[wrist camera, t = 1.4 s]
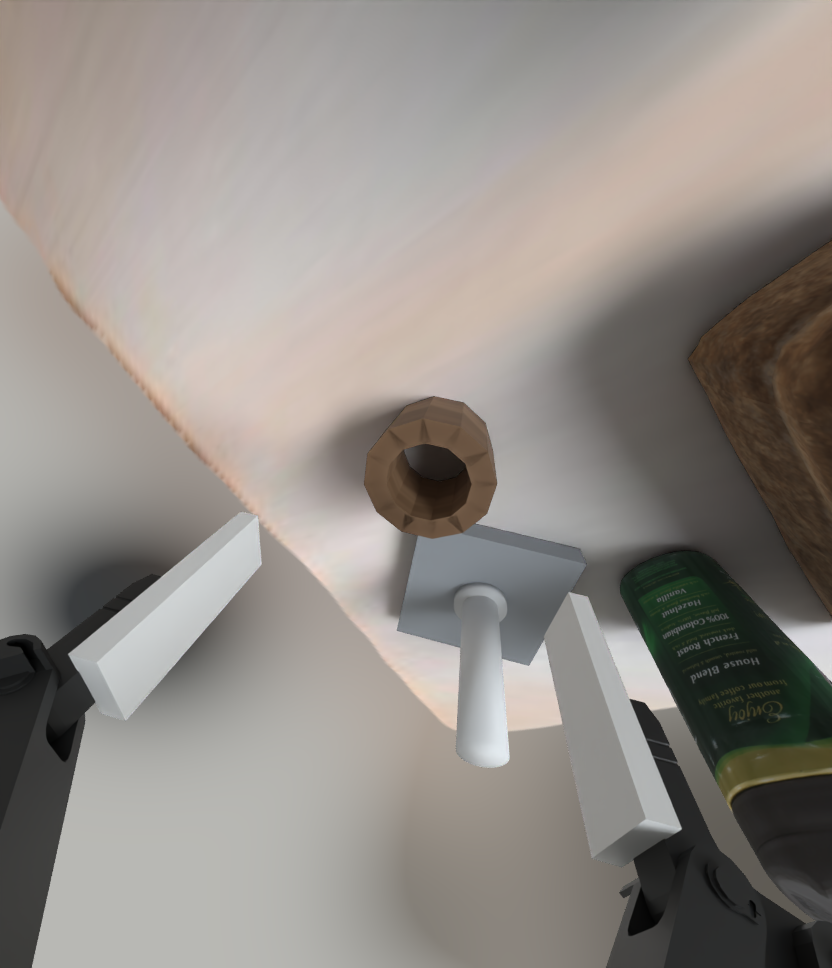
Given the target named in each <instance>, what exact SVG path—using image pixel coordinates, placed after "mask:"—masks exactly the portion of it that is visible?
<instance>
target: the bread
mask: <svg viewBox="0 0 832 968" xmlns="http://www.w3.org/2000/svg"><path fill="white" fill-rule="evenodd" d="M688 360H689V362H690V364H691V366H692V368H693V370H694V372H695V374H696V375H697V377H698V379H699V381H700V383H701V385H702V387H703V388H704V390H705V392H706V394H707V396H708V398H709V400H710V402H711V404H712V406H713V408H714V411H715V413H716V415H717V417H718V419H719V421H720V423H721V425H722V427H723V429H724V431H725V433H726V435H727V437H728V439H729V441H730V443H731V444H732V446H733V448H734V450H735V452H736V454H737V456H738V457H739V459H740V461H741V463H742V464H743V466H744V468H745V469H746V471H747V473H748V475H749V476H750V478H751V480H752V482H753V483H754V485H755V487H756V488H757V490H758V492H759V494H760V495H761V497H762V499H763V500H764V502H765V504H766V505H767V507H768V509H769V510H770V512H771V513H772V515H773V518H774V520H775V522H776V524H777V526H778V528H779V530H780V532H781V535H782V537H783V539H784V541H785V543H786V545H787V547H788V549H789V550H790V552H791V553H792V555H793V556H794V558H795V559H796V561H797V562H798V564H799V565H800V567H801V569H802V570H803V572H804V574H805V575H806V577H807V579H808V580H809V582H810V584H811V585H812V587H813V588H814V590H815V591H816V593H817V594H818V596H819V597H820V599H821V600H822V602H823V604H824V605H825V607H826V608H827V610H828V611H829V613H830V614H831V616H832V240H831V241H830V242H828V243H827V244H825V245H824V246H823V247H821V248H820V249H818V250H817V251H815V252H814V253H812V254H811V255H809V256H808V257H807V258H805V259H804V260H802V261H801V262H799V263H798V264H797V265H795V266H794V267H792V268H791V269H789V270H788V271H787V272H785V273H784V274H782V275H781V276H780V277H778V278H777V279H775V280H774V281H772V282H771V283H769V284H768V285H766V286H765V287H763V288H762V289H761V290H759V291H758V292H756V293H755V294H753V295H752V296H750V297H749V298H748V299H746V300H745V301H744V302H743V303H741V304H740V305H739V306H738V307H736V308H735V309H734V310H733V311H732V312H730V313H729V314H728V315H727V316H725V317H724V318H723V319H722V320H721V321H719V322H718V323H717V324H716V325H715V326H714V327H713V328H711V329H710V330H709V331H708V332H707V333H706V334H705V335H703V336H702V337H701V339H700V342H699V344H698V346H697V347H696V349H695V350H694V351H693V353H692V354H691V356H690V357H689V358H688Z"/></svg>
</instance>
